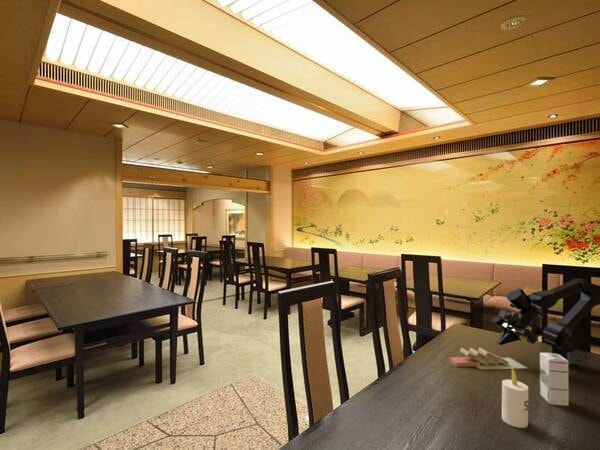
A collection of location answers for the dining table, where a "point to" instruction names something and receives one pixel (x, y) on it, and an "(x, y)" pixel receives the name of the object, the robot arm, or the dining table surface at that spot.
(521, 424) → the candle
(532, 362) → the dining table surface
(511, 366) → the mat
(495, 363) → the domino
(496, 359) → the domino
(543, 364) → the syrup box
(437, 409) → the dining table surface
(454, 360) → the domino
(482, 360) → the domino
